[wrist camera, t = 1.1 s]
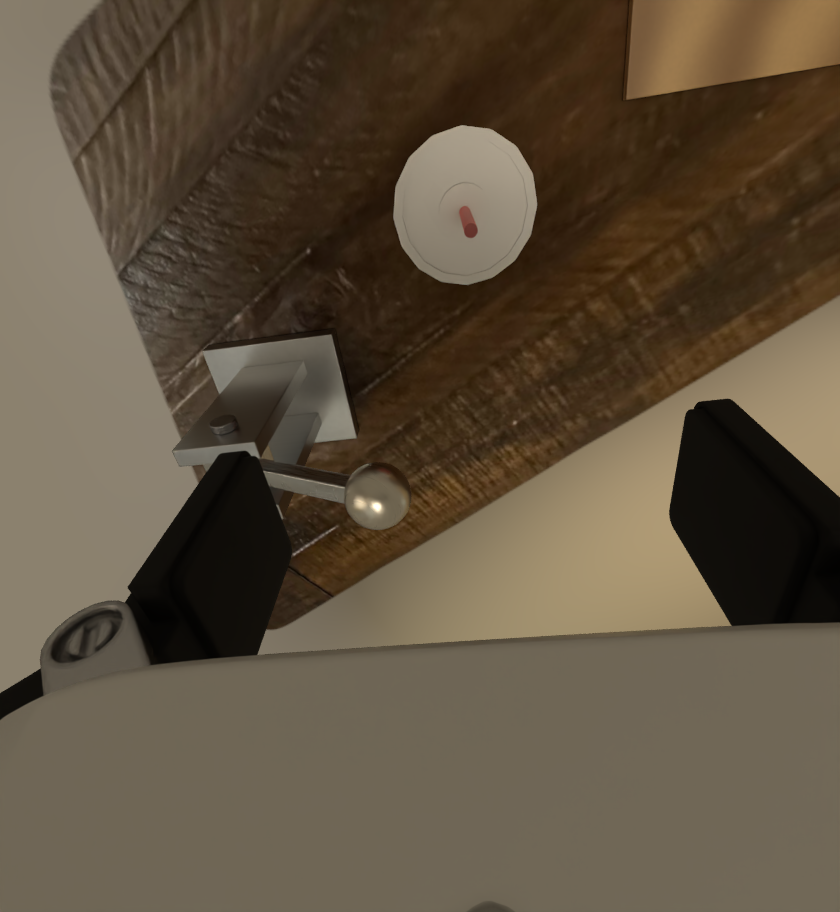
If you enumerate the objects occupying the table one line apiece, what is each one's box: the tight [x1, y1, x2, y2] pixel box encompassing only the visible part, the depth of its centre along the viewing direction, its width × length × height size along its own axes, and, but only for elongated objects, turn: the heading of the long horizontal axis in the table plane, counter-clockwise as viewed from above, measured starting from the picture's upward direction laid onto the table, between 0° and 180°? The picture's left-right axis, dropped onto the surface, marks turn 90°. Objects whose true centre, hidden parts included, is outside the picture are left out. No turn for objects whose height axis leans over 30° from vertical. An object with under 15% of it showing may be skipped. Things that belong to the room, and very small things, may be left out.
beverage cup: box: [393, 125, 537, 285], centre depth 23 cm, size 6×6×14 cm
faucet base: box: [172, 329, 359, 519], centre depth 31 cm, size 9×8×12 cm
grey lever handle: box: [203, 444, 411, 530], centre depth 25 cm, size 12×3×3 cm, turn 98°
